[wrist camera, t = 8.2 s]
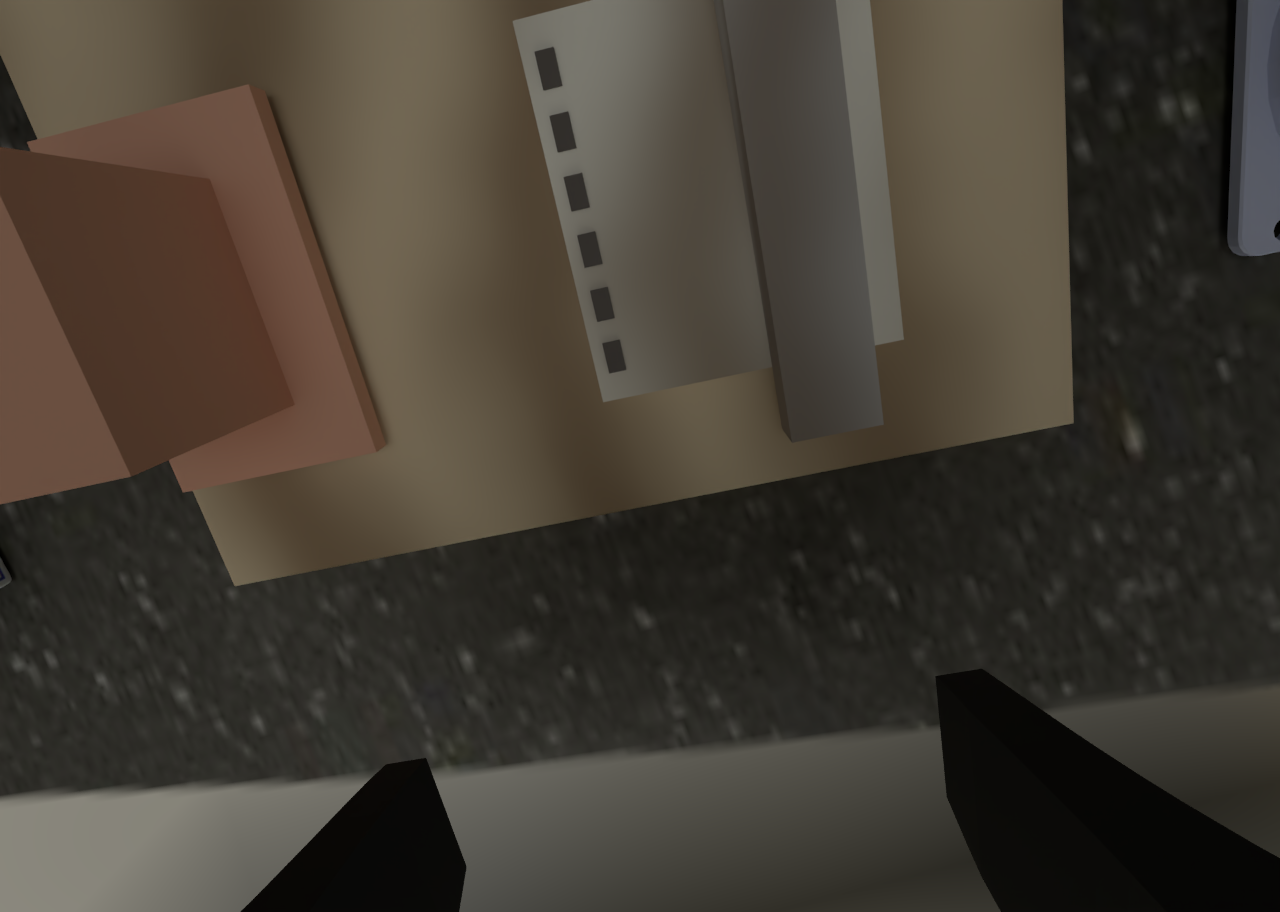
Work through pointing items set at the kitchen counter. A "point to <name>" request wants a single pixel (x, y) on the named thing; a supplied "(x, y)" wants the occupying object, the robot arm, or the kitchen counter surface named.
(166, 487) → the kitchen counter surface
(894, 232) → the board
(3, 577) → the medicine box
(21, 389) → the stub
